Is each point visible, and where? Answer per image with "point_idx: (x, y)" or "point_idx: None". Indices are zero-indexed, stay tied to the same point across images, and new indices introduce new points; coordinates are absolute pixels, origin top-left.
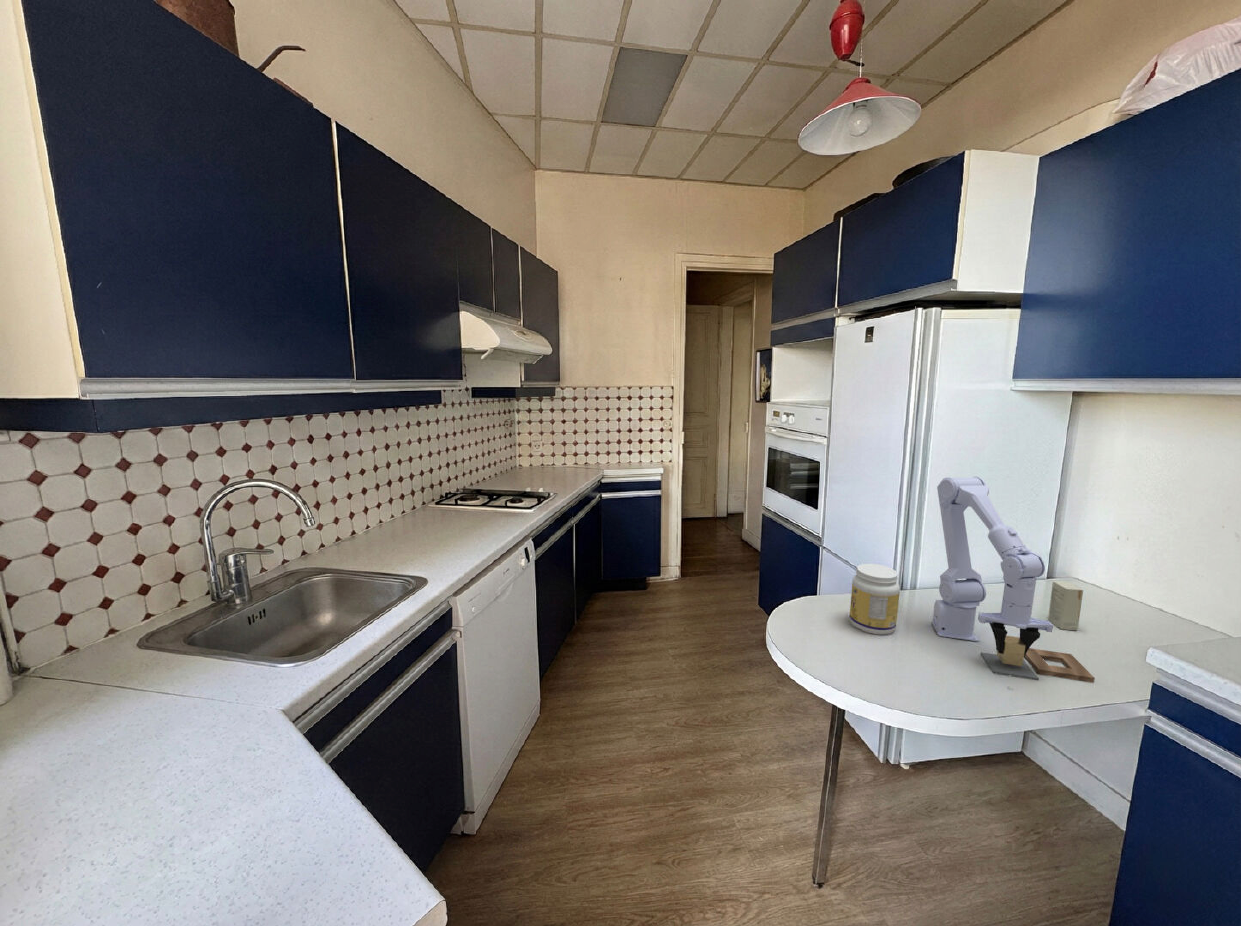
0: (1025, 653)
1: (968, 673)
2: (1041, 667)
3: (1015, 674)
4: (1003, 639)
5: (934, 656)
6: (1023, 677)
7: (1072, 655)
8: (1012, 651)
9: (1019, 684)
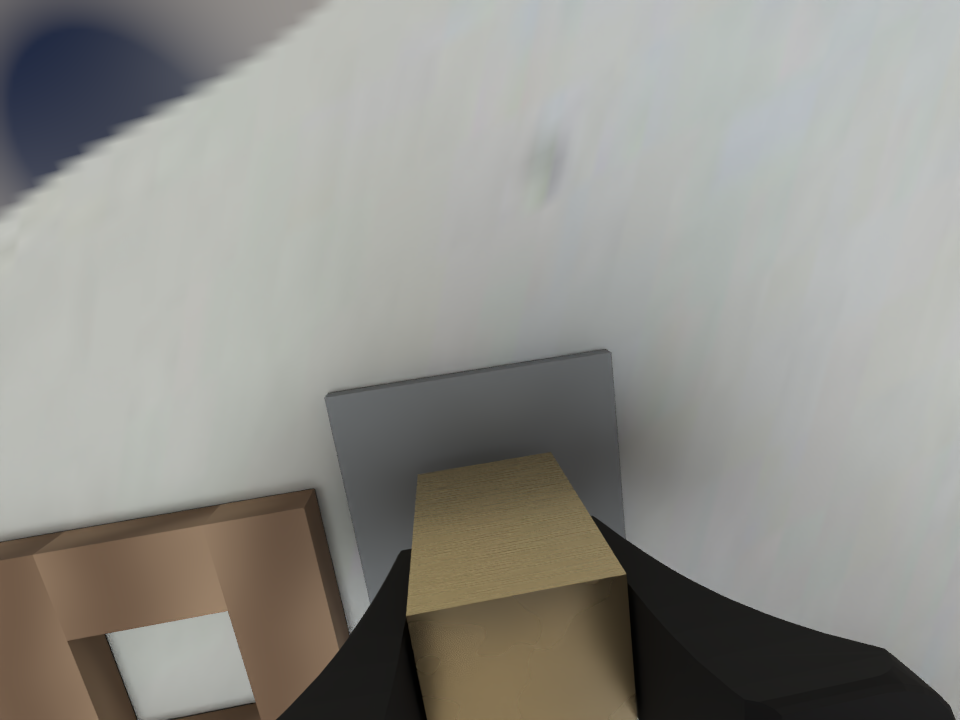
0: (394, 567)
1: (770, 259)
2: (280, 546)
3: (472, 376)
4: (663, 606)
5: (923, 400)
6: (421, 380)
7: None
8: (518, 525)
9: (466, 262)
